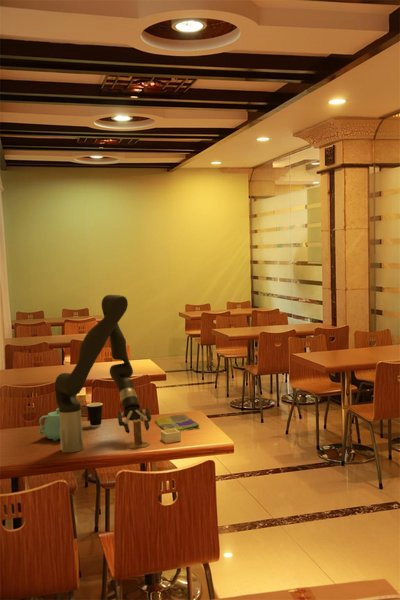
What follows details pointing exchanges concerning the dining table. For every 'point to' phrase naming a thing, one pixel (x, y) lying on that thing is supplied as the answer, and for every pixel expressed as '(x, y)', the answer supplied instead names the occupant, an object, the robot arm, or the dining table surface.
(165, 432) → the beige square base
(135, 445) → the brown post on base
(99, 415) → the dixie cup
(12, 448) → the dining table surface
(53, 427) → the decorative pot
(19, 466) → the dining table surface
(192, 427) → the dish towel
